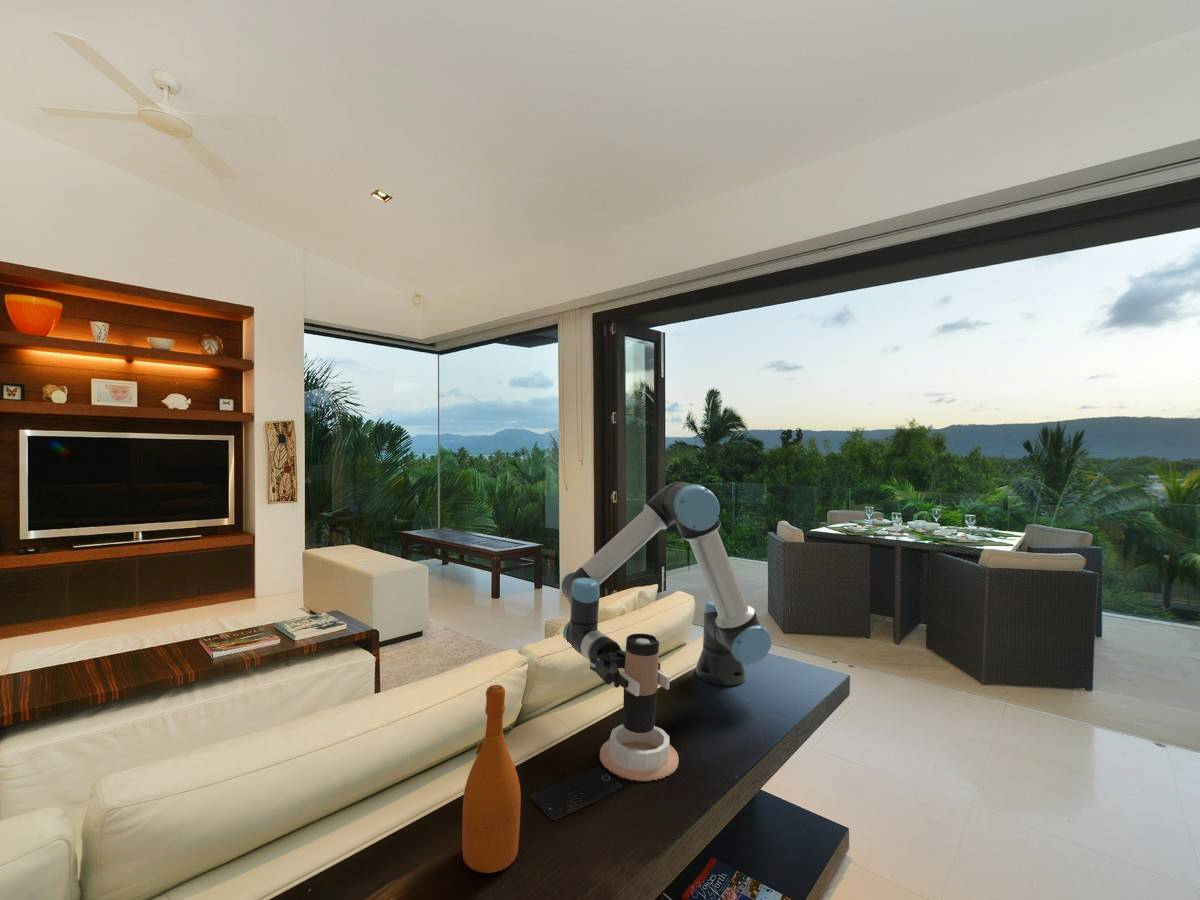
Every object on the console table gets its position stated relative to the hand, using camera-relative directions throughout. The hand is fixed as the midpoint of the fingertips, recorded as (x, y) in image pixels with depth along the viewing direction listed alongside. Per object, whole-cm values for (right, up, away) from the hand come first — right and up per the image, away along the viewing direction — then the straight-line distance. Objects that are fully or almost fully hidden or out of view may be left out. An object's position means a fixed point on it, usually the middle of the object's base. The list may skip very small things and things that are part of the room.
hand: (653, 686), depth 129 cm
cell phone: (-16, -19, -9) cm, 27 cm away
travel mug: (-3, -11, +5) cm, 12 cm away
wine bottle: (-31, -19, -28) cm, 45 cm away
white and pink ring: (-3, -18, +5) cm, 19 cm away
